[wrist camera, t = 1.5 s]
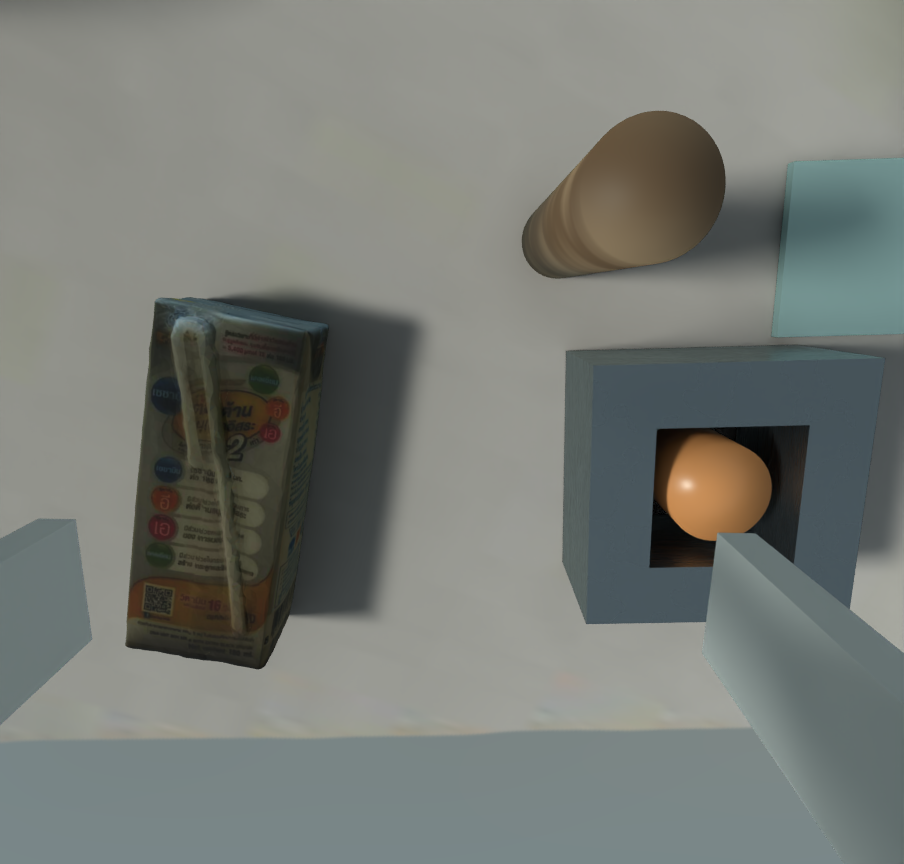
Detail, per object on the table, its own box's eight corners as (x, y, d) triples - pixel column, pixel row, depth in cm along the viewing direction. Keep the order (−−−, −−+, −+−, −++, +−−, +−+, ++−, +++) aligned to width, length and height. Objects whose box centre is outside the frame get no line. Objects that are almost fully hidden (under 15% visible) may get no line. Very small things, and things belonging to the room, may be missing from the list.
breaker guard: (566, 350, 33) (593, 365, 26) (797, 344, 33) (885, 357, 26) (562, 562, 36) (586, 624, 29) (774, 557, 36) (848, 619, 29)
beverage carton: (340, 321, 33) (311, 328, 27) (295, 618, 38) (262, 685, 31) (201, 293, 33) (138, 294, 27) (172, 596, 37) (113, 658, 31)
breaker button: (640, 422, 33) (671, 444, 28) (729, 420, 33) (776, 442, 28) (635, 506, 34) (665, 541, 29) (722, 504, 34) (766, 539, 29)
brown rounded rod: (521, 202, 31) (582, 113, 16) (596, 200, 31) (731, 108, 16) (521, 279, 32) (579, 266, 17) (594, 277, 32) (719, 262, 17)
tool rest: (788, 163, 31) (794, 161, 30) (961, 158, 31) (971, 155, 30) (771, 336, 33) (777, 337, 32) (933, 332, 33) (942, 332, 32)
